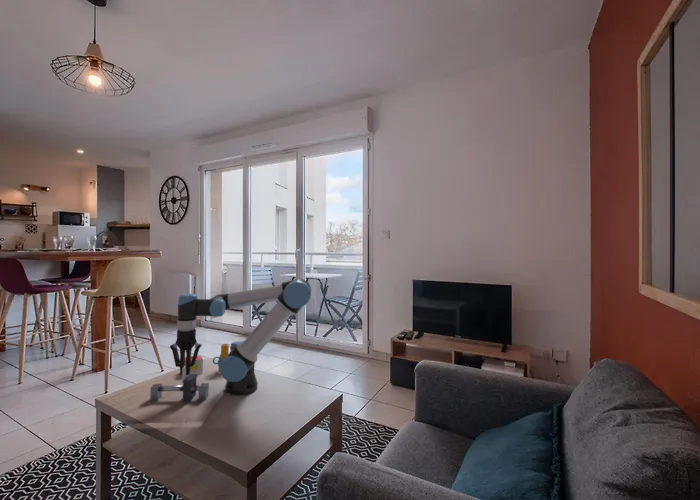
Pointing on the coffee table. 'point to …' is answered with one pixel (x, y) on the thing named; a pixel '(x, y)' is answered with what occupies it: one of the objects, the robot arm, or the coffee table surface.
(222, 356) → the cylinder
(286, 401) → the coffee table surface
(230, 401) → the coffee table surface
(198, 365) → the red gray cube
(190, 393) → the dark gray notched block
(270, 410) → the coffee table surface
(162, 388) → the rail
